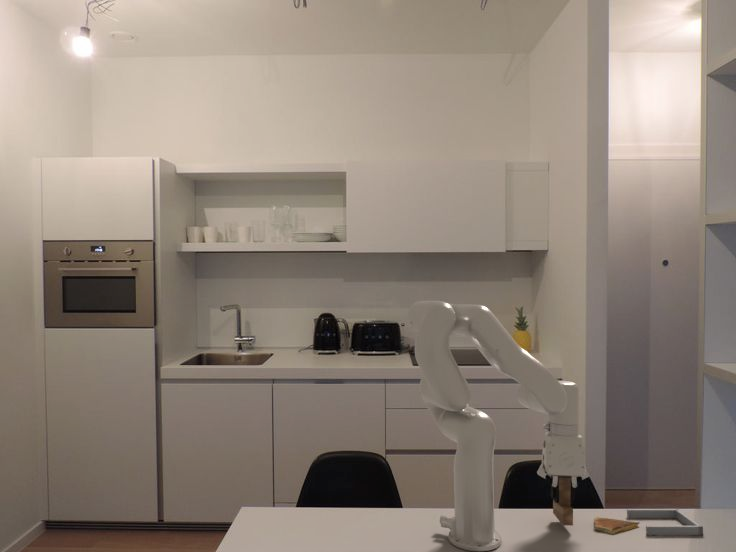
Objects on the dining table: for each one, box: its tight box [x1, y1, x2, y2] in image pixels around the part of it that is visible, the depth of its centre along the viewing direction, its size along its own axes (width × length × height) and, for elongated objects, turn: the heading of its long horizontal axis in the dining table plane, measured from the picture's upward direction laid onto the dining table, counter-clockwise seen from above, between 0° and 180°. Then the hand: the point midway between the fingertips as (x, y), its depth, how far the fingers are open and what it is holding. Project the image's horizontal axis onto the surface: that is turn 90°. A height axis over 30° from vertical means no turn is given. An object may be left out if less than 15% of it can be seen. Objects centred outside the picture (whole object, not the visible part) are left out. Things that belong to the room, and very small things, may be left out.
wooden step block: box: [552, 476, 574, 527], centre depth 143 cm, size 3×8×11 cm, turn 178°
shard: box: [593, 516, 640, 535], centre depth 140 cm, size 11×8×2 cm
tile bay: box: [626, 508, 704, 536], centre depth 142 cm, size 14×12×2 cm
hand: (562, 500), depth 143 cm, fingers closed on wooden step block, 3 cm apart
